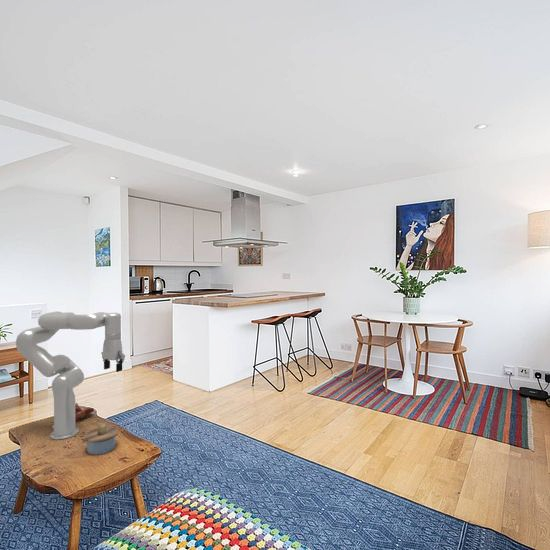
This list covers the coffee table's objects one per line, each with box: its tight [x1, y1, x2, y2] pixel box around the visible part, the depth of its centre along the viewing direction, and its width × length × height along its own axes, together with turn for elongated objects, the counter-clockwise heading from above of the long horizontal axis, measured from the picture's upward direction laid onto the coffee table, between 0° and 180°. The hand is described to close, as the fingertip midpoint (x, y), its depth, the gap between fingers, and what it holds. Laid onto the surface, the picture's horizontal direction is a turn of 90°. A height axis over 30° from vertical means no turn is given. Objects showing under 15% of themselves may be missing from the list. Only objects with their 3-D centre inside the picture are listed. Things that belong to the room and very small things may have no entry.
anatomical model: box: [75, 402, 95, 423], centre depth 200 cm, size 11×13×15 cm
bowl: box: [86, 435, 117, 456], centre depth 166 cm, size 12×12×6 cm
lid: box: [84, 421, 119, 443], centre depth 166 cm, size 14×14×6 cm
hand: (113, 370), depth 180 cm, fingers open, 9 cm apart
